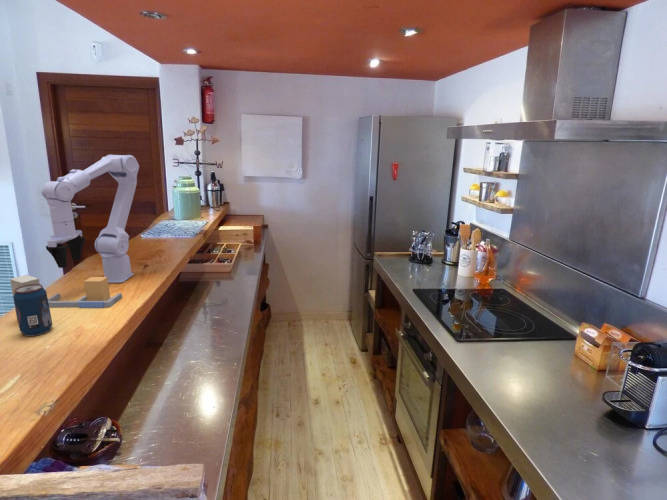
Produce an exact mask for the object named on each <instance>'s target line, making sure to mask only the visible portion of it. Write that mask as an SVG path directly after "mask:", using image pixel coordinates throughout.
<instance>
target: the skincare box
mask: <svg viewBox="0 0 667 500" xmlns="http://www.w3.org/2000/svg"><path fill="white" fill-rule="evenodd" d="M9 281H10V287H11V292H12V297H13V296H14V294H15V289H16V288H19V287H21V286H25V285H31V284H40V279H39V277H36V276H33V275H29V274H24V275H19V276H15V277H11V278H10V279H9ZM40 285H41V284H40ZM14 306H15V304H14ZM14 309H15V308H14ZM15 312H16V309H15ZM15 314H16V313H15ZM15 317H17V314H16V315H15ZM16 320H17V321H18V319H17V318H16Z"/></svg>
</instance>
